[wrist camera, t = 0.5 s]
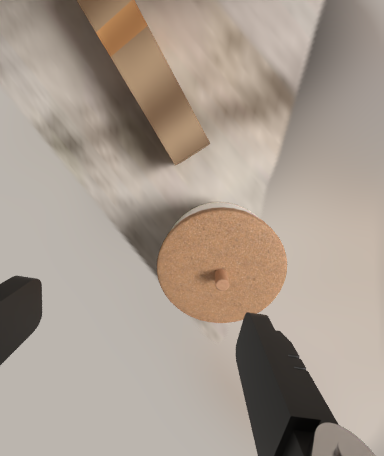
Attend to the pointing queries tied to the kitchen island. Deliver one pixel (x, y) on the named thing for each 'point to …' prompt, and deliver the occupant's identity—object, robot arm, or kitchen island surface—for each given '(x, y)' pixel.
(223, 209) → the lidded bowl
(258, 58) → the kitchen island surface
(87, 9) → the bar
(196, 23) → the kitchen island surface
